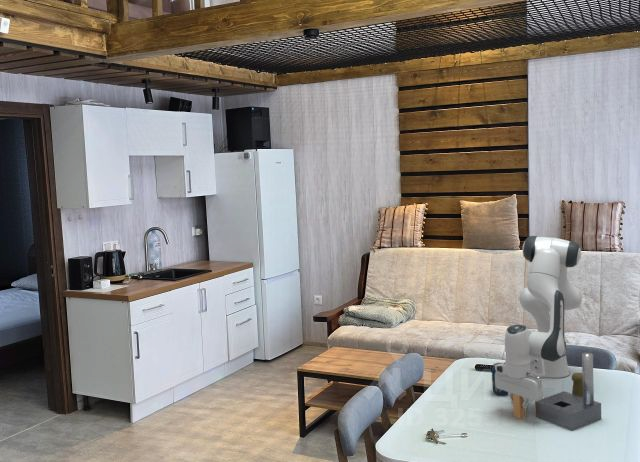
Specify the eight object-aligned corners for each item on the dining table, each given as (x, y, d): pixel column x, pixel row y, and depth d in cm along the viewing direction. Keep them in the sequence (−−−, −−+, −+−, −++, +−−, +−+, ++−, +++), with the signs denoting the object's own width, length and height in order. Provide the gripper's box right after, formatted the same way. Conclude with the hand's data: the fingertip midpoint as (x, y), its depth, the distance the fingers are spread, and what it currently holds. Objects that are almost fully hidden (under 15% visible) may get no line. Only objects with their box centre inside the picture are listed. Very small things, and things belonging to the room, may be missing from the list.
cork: (589, 403, 249) (588, 376, 248) (572, 403, 250) (571, 375, 249) (586, 398, 255) (585, 370, 254) (569, 398, 256) (569, 370, 255)
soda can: (508, 390, 269) (507, 362, 267) (511, 396, 262) (510, 367, 261) (491, 390, 269) (490, 362, 268) (494, 396, 263) (493, 367, 261)
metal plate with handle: (535, 417, 240) (533, 353, 237) (564, 406, 248) (562, 345, 246) (572, 430, 226) (570, 363, 224) (601, 419, 234) (600, 354, 232)
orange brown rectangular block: (513, 416, 242) (512, 390, 241) (519, 414, 243) (518, 388, 242) (519, 419, 239) (519, 392, 238) (525, 416, 241) (524, 390, 240)
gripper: (546, 374, 232) (548, 412, 233) (503, 361, 249) (504, 396, 251) (534, 378, 229) (536, 416, 230) (491, 365, 246) (492, 400, 248)
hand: (519, 406), depth 241 cm, fingers open, 3 cm apart
